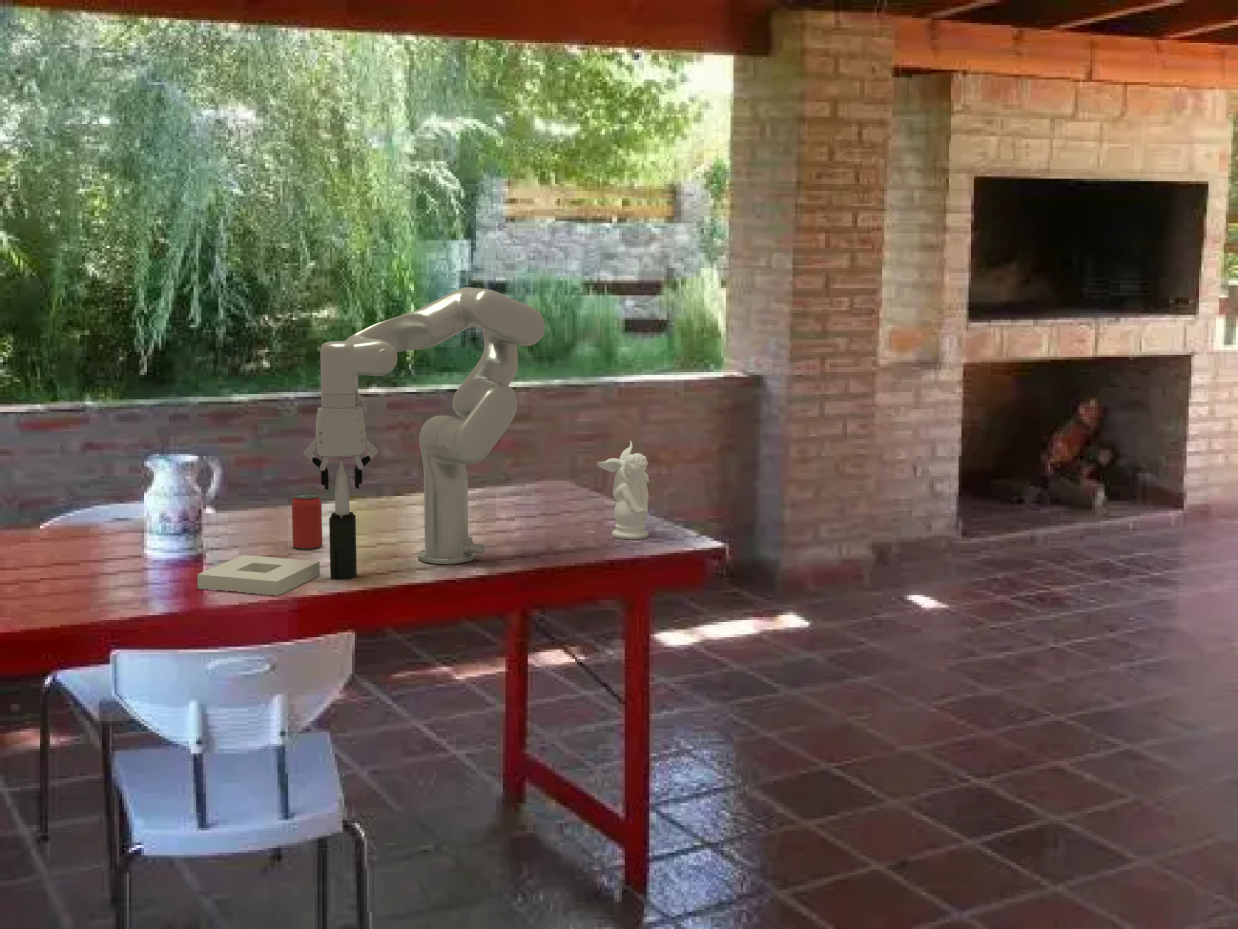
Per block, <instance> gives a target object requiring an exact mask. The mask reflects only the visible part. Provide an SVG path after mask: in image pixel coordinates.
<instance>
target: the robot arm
mask: <svg viewBox="0 0 1238 929" xmlns="http://www.w3.org/2000/svg"><path fill="white" fill-rule="evenodd" d="M545 324H546V323H545V321H544V317H543V315H542V314H541V313H540V311H538V310H537V309H536V308H535V307H532V306H531V305H528V304H526V303H523V302H521V301H518V300H516V299H513V298H512V297H509V296H507V295H505V294H502V293H500V292H497V291H495V290H492V289H489V288H482V287H481V288H480V287H471V286H470V287H467V286H466V287H465V286H464V287H460V288H459V289H455V290H453V291H452V292H449V293H447V294H445V295H443V296H442V297H440V298H437V299H435V300H434V301H431V302H430V303H428V304H426V305H424V306H422V307H420V308H418V309H415V310H414V311H411V312H408V313H404V314H401V315H398V316H395V317H392V318H389V319H386V320H383V321H380V322H377V323H374V324H373V325H369V326H368V327H365V328H364V329H362V330H360V331H358V332H356V333H354V334H351V335H350V336H349V337H347V338H346V339H345V340H334V341H333V340H331V341H327V342H323V343H322V344H321V346H320V389H321V390H320V391H321V394H320V395H321V397H320V398H321V406H320V407H318V408H317V412H316V420H315V438H314V440H313V441H312V442H311V443H310V444H309V445H308V446H307V448H306V449H305V450H304V451H303V455H304V456H305V458H307V459H308V460H310V462H312V464H314V465H315V466H316V467H317V468H318V469H319V470H320V486H324V490H325V491H328V490H329V488H330V485H329V481H330V480H329V470H328V467H327V465H328V463H329V460H330V458H342V457H343V458H344V457H347V458H348V457H353V458H354V462H355V464H356V465H355V467H354V471H353V472H354V487H355V489H360V485H363V469H364V467H366V466H367V465H368V463H369V462H371V460H372V459H373V458H375V456H377V455H378V453H379V450H378V449H377V447H375V446H374V445H373V443H371V441H369V440H368V439H367V437H366V424H365V416H364V411H363V408H362V407H361V406H360V404H362V403H366V399H367V398H366V395H362V394H360V393H359V376H373V377H382V376H386V375H387V374H389V373H391V372H392V371H393V370H394V369H395V367H396V366H397V363H398V353H401V352H405V351H406V352H407V351H418V350H425V349H430V348H433V347H436V346H437V345H440V344H441V343H443V342H444V341H447V340H449V339H450V338H452V337H454V336H456V335H458V334H461V333H462V332H463V331H465V330H467V329H470V328H479V329H481V331H482V336H483V342H484V343H483V344H484V346H483V351H482V352H483V353H482V355H481V357H480V359H479V360H478V362H477V364H476V365H475V366H474V367H473V369H472V370H471V371H470V373H469V374H468V375H467V377H466V378H465V379H464V381H463V382H462V383H461V385H460V386H459V387H458V388H457V390H456V391H455V393H454V395H453V398H452V402H451V404H452V408H453V411H454V412H455V413H456V415H457V416H459V417H456V416H451V415H435V416H432V417H430V418H428V420H426V421H425V422H424V423H423V425H422V426H421V428H420V431H419V438H418V439H419V440H418V441H419V449H420V454H421V459H422V465H423V466H422V467H423V485H424V486H423V487H424V488H423V491H424V492H423V493H424V494H423V496H424V497H423V499H424V500H423V506H424V510H423V512H424V519H423V520H424V549H422V550H420V551H419V552H418V553H417V559H418V560H419V561H421V562H424V563H427V564H435V565H437V564H438V565H454V564H455V565H456V564H462V563H467V562H471V561H473V560H474V559H475V558H476V555H477V554H478V555H484V554H485V552H486V546H485V544H483V543H475V542H473V536H469V496H468V495H469V488H468V487H469V480H468V479H469V478H468V471H467V468H466V466H471V465H476V464H478V463H479V462H482V460H484V459H485V458H486V457H487V455H489V453H490V452H491V450H492V449H493V448H494V446H495V445H496V444H497V442H498V441H499V440H500V438H501V437H502V436H503V434H504V433H505V432H506V430H507V429H508V428H509V427H510V425H511V424H512V422H513V421H514V419H515V416H516V412H517V410H518V399H517V395H516V393H515V390H513V388H512V387H510V384H511V383H512V381H513V380H514V379H515V376H516V375H517V371H518V367H519V357H518V348H517V347H518V346H521V347H528V346H533V345H536V344H537V343H538V342H539V341H540V340H541V339H542V338H543V336H544V334H545V328H546V325H545ZM366 448H367V449H368V450H369V451H368V452H367V454H365V453H366V450H367V449H366ZM314 451H316V453H317V455H318V456H320V457H321V459H319V457H317V456H316V455H315V454H313V452H314ZM364 454H365V455H364ZM363 455H364V456H363ZM360 456H363V457H362V458H361V457H360Z"/></svg>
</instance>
